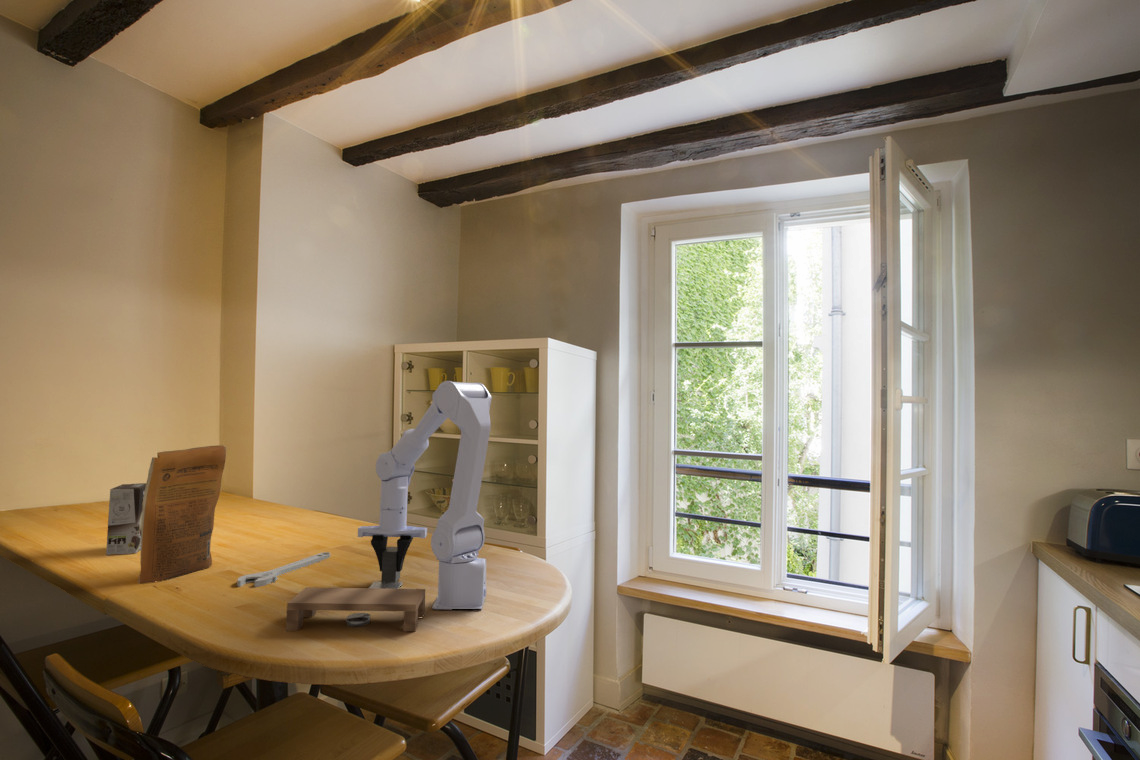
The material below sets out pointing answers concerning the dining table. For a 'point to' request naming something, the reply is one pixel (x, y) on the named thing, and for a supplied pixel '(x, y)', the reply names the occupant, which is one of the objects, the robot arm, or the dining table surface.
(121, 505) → the coffee box
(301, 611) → the walnut shelf
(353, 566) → the dining table surface
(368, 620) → the steel disc
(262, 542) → the dining table surface
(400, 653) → the dining table surface
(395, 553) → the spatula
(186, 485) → the pancake mix bag
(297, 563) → the adjustable wrench
